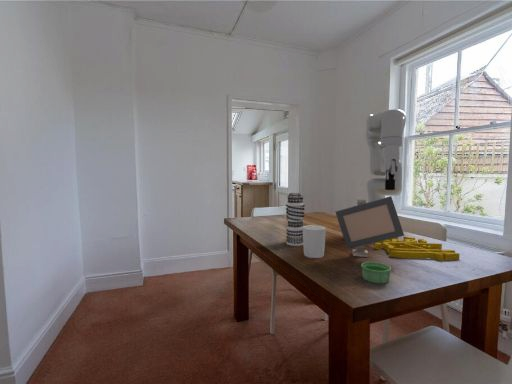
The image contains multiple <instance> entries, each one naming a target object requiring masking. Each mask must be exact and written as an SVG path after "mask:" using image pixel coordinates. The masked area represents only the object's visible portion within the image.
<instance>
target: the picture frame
mask: <svg viewBox="0 0 512 384" xmlns="http://www.w3.org/2000/svg"><path fill="white" fill-rule="evenodd" d="M335 215H336V218H337V222H338V224H339V227H340V230H341V233H342V238H343V240H344V243H345V246H346V249H347V250H350V249H353V248H356V247H358V246H362V245H365V246H367V245H370V244H375V243H376V242H379V241H384V240H388V239H392V238H396V237H398V238H400V237H404V236H405V234H404V231H403V228H402V225H401V222H400V219H399V216H398V213H397V210H396V206H395V203H394V200H393V196H385V197H382V199H379V200H375V201H371V202H368V201H367V202H366V203H364V204H361V205H357V204H356V205H354V206H351V207H347V208H343V209H339V210H336V211H335Z"/></svg>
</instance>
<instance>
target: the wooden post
mask: <svg viewBox="0 0 512 384" xmlns="http://www.w3.org/2000/svg"><path fill="white" fill-rule="evenodd" d="M366 201H367V200H366V199H365V198H364V199H357V200H356V206H357V205H361V204H364V203H367V202H366ZM355 248H356V249H352V251H351V252H352V253H351V254H352V256H353V257H361V258H362V257H363V258H365V257H366V258H369V257H370V256H369V251H368V249H367V250H366V245H362V246H358V247H355Z"/></svg>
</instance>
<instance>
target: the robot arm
mask: <svg viewBox="0 0 512 384" xmlns="http://www.w3.org/2000/svg"><path fill="white" fill-rule="evenodd" d="M406 121H407V116H406V112H405V111H404V110H401V109H397V108H396V109H394V108H392V109H386V110H382V111H379V112H376V113H373V114H369V115H367V118H366V120H365V139H366V143H367V146H368V149H369V172H370V175H372V176H375V177H376V176H377V177H378V178H377V177H376V178H370V179H369V180H367V183H366V191H367V203H368V202H371V201H375V200H379V199H382V198H383V197H384V196H385V197H389V196H391V197H394V196H400V195H401V193H402V191H403V188H402V187H403V166H402V165H403V164H402V161H401V160H400V147H403V133H404V129H405V126H406V123H407V122H406ZM379 177H382V178H379ZM384 177H385V178H384Z"/></svg>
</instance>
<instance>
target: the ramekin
mask: <svg viewBox="0 0 512 384" xmlns="http://www.w3.org/2000/svg"><path fill="white" fill-rule="evenodd" d="M360 267H361V275H362V278H363V280H364V281H366V282H369V283H372V284H373V283H374V284H387V283H389V281H390V277H391V271H392V267H391V265H388V264H386V263H382V262H377V261H364V262H362V263H361V265H360Z"/></svg>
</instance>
